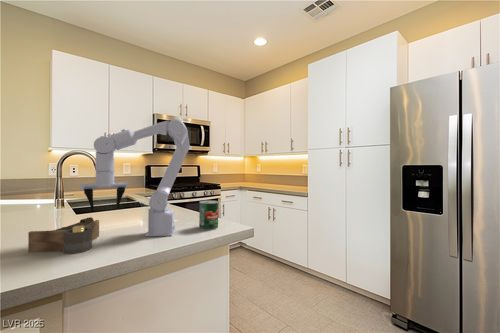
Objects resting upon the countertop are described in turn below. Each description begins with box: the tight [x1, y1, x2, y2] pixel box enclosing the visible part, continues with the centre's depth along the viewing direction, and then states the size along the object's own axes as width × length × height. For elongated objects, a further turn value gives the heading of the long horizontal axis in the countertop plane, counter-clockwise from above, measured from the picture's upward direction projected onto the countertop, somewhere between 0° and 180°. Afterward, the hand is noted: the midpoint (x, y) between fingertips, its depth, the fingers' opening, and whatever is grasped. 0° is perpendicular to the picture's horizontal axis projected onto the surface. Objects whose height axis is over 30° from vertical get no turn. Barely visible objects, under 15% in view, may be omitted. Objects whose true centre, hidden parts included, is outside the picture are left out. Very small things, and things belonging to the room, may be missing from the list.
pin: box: [73, 226, 85, 233], centre depth 74 cm, size 3×3×7 cm
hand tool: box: [50, 217, 95, 231], centre depth 91 cm, size 19×4×5 cm, turn 171°
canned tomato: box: [198, 199, 219, 231], centre depth 101 cm, size 8×8×11 cm
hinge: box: [27, 219, 100, 255], centre depth 78 cm, size 17×17×6 cm
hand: (105, 209), depth 85 cm, fingers open, 7 cm apart
